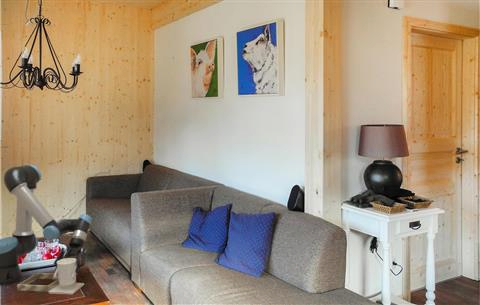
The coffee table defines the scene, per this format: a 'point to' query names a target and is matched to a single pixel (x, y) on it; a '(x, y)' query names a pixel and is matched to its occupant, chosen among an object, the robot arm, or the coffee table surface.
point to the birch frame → (43, 288)
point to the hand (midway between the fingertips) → (64, 277)
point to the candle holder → (66, 271)
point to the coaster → (66, 289)
